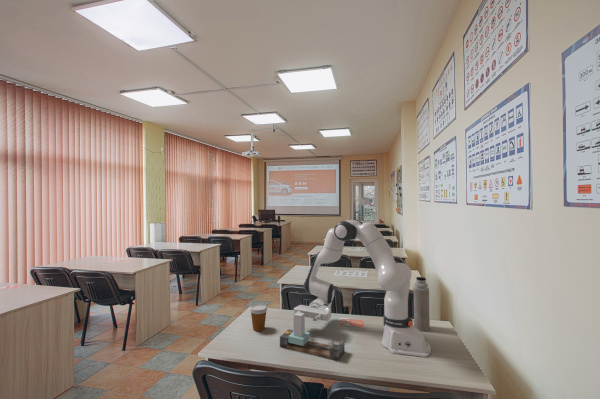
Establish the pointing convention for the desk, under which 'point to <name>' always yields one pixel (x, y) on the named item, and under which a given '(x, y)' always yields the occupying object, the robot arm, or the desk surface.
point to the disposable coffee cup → (258, 317)
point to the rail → (315, 347)
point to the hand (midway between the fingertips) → (306, 318)
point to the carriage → (299, 330)
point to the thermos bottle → (421, 305)
